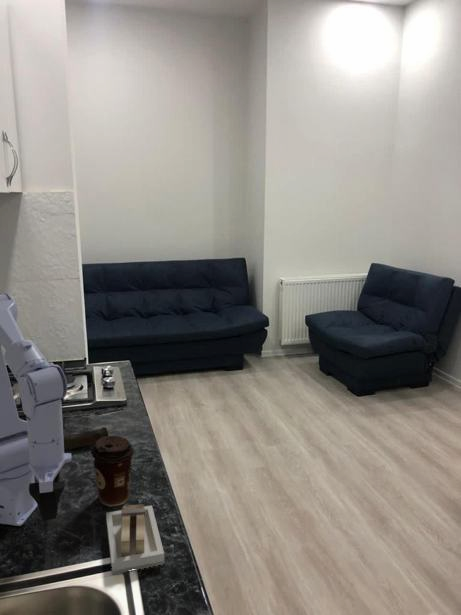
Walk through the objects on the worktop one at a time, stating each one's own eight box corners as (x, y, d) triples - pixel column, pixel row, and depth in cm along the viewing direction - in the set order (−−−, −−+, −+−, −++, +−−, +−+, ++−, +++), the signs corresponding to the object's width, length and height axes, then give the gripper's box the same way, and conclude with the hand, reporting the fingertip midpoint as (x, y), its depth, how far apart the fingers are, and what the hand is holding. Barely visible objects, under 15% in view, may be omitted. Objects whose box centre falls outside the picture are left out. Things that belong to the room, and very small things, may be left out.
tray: (164, 564, 90) (164, 553, 89) (112, 575, 87) (111, 563, 86) (151, 515, 103) (151, 505, 102) (106, 523, 100) (106, 512, 99)
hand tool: (106, 438, 133) (105, 422, 132) (109, 445, 129) (109, 428, 128) (29, 453, 125) (27, 436, 124) (30, 461, 121) (29, 443, 120)
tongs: (122, 523, 99) (121, 504, 98) (145, 521, 99) (145, 502, 98) (120, 560, 89) (119, 539, 88) (145, 558, 90) (145, 537, 89)
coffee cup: (92, 512, 103) (90, 455, 100) (92, 489, 111) (89, 435, 107) (135, 506, 105) (134, 450, 102) (132, 484, 113) (131, 431, 110)
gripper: (70, 454, 81) (74, 526, 85) (69, 414, 95) (73, 478, 98) (23, 460, 79) (29, 534, 83) (29, 418, 93) (34, 484, 96)
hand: (50, 504), depth 90 cm, fingers open, 7 cm apart
